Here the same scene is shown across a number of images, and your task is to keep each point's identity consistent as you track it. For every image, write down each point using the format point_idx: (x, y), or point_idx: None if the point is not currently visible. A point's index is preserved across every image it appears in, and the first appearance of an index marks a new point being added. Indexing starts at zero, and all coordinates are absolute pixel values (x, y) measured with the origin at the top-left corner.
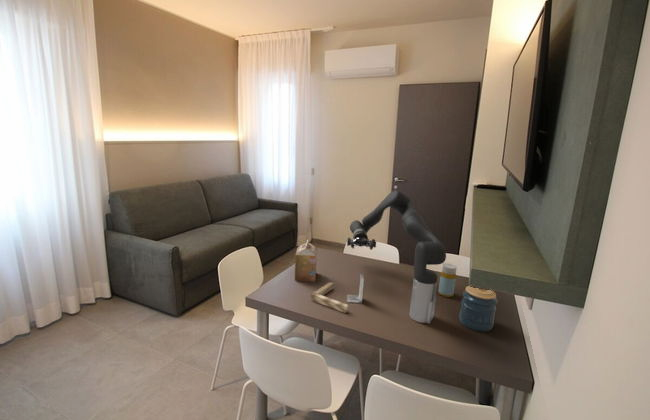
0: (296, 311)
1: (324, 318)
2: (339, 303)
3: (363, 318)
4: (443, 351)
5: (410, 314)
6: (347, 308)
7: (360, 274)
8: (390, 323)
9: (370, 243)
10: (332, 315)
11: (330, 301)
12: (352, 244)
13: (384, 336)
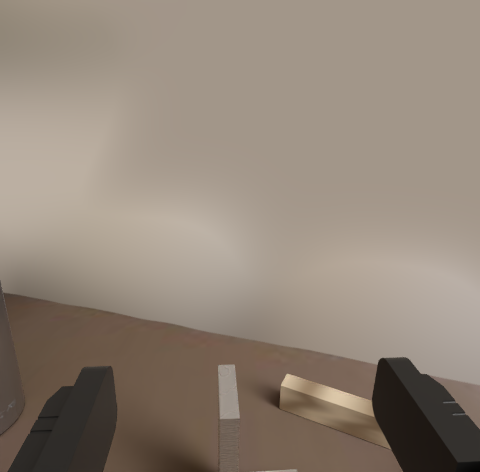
0: (456, 381)
1: (345, 363)
2: (317, 388)
3: (216, 380)
4: (38, 307)
5: (21, 399)
6: (281, 395)
7: (239, 420)
8: (125, 370)
9: (59, 461)
10: (327, 379)
11: (360, 398)
12: (422, 386)
13: (165, 326)
